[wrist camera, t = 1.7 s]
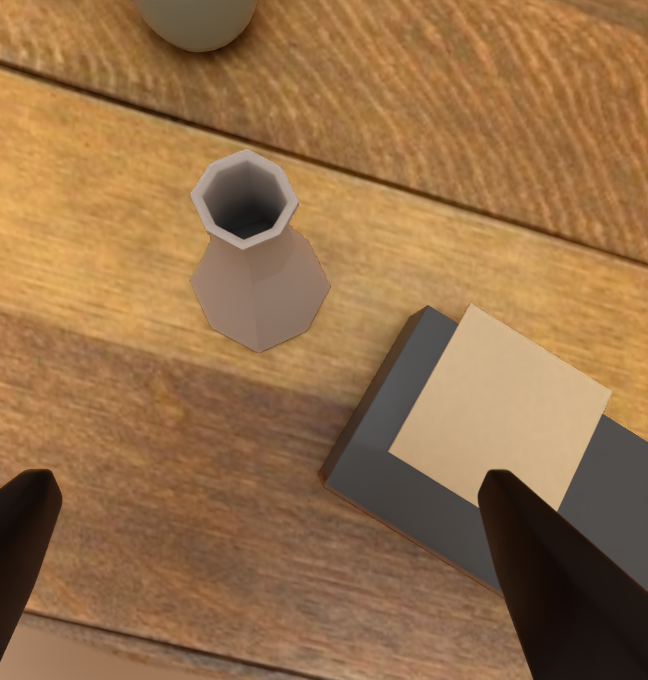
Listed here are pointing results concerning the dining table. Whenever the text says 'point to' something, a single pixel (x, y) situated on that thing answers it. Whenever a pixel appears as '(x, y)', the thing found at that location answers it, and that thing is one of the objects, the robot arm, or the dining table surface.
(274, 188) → the octagonal bud vase
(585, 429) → the grey and beige box
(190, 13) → the cup
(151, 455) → the dining table surface
